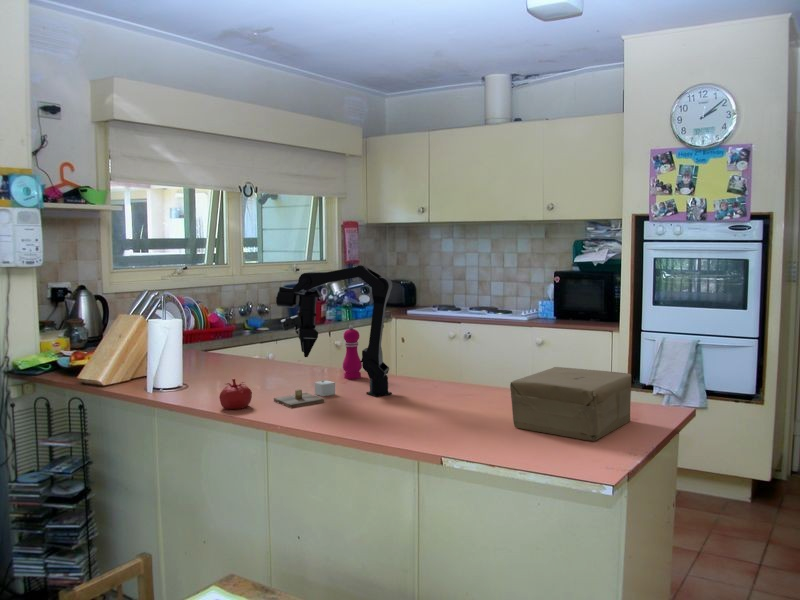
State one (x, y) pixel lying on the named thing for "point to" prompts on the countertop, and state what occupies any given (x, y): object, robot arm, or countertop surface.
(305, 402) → the post stand
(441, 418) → the countertop surface
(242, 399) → the red tomato
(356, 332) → the pepper mill
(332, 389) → the white cube
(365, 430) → the countertop surface
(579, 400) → the paper package
